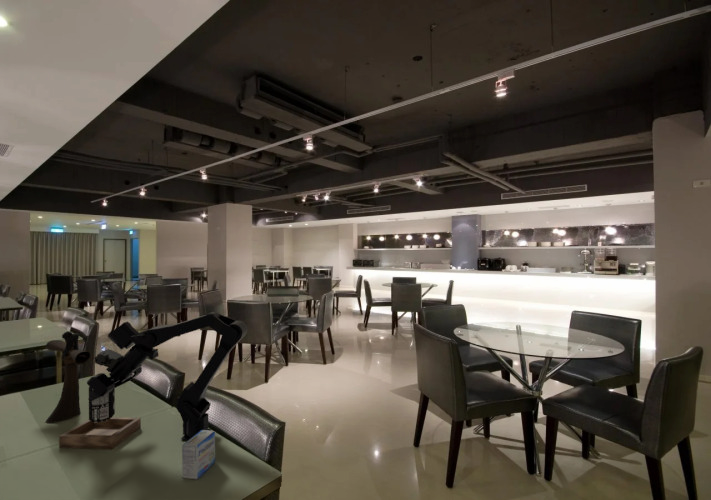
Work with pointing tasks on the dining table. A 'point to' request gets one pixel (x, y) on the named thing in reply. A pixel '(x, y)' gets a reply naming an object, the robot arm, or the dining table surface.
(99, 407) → the beverage can
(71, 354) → the flared trumpet-armed statue
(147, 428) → the dining table surface
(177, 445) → the dining table surface
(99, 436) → the tray
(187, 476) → the medicine box
